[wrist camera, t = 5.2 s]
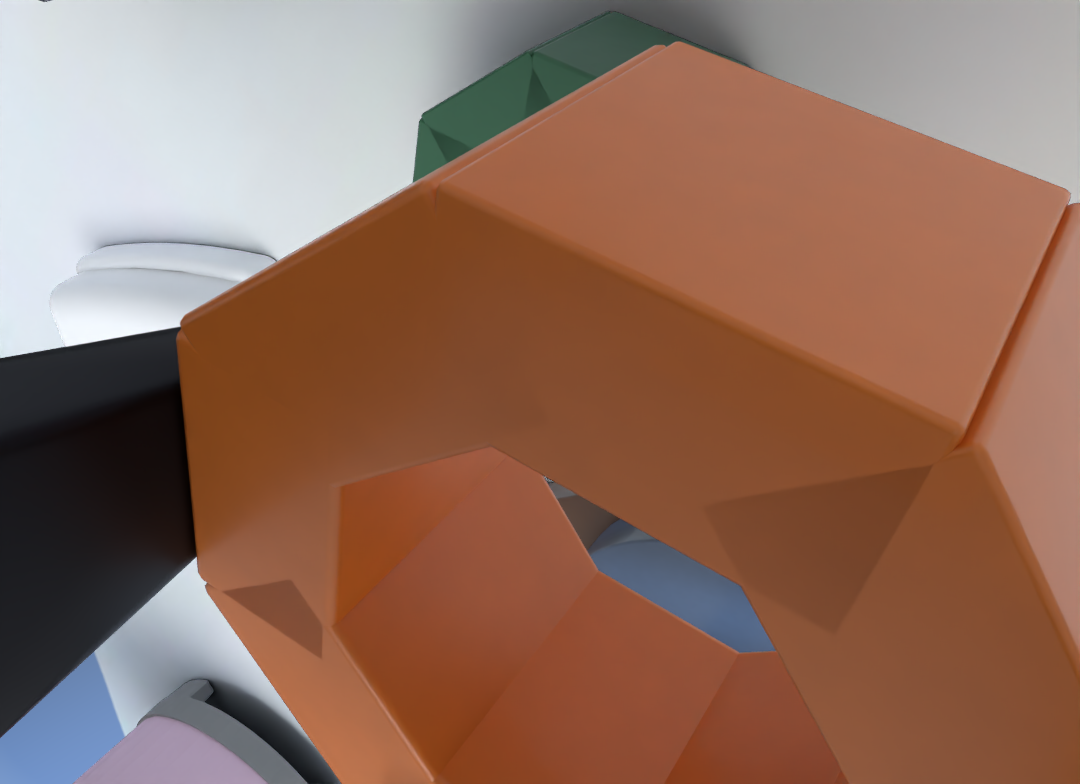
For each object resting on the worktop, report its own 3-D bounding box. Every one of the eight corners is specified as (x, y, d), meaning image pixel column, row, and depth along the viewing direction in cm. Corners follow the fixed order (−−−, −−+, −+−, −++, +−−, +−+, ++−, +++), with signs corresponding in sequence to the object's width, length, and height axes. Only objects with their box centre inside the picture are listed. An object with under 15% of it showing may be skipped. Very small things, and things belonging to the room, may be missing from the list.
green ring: (439, 111, 23) (352, 155, 21) (703, -46, 18) (624, -8, 16) (586, 383, 25) (520, 450, 23) (863, 307, 20) (810, 383, 18)
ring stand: (521, 488, 28) (294, 725, 22) (859, 421, 21) (672, 738, 15) (681, 765, 30) (519, 1050, 24) (1029, 784, 24) (930, 1188, 17)
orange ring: (295, 249, 11) (57, 387, 9) (953, -125, 6) (766, -16, 4) (610, 760, 13) (473, 977, 11) (1322, 789, 8) (1327, 1202, 6)
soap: (281, 248, 28) (202, 293, 26) (349, 454, 31) (284, 508, 29) (87, 238, 33) (8, 276, 31) (164, 418, 36) (96, 462, 34)
